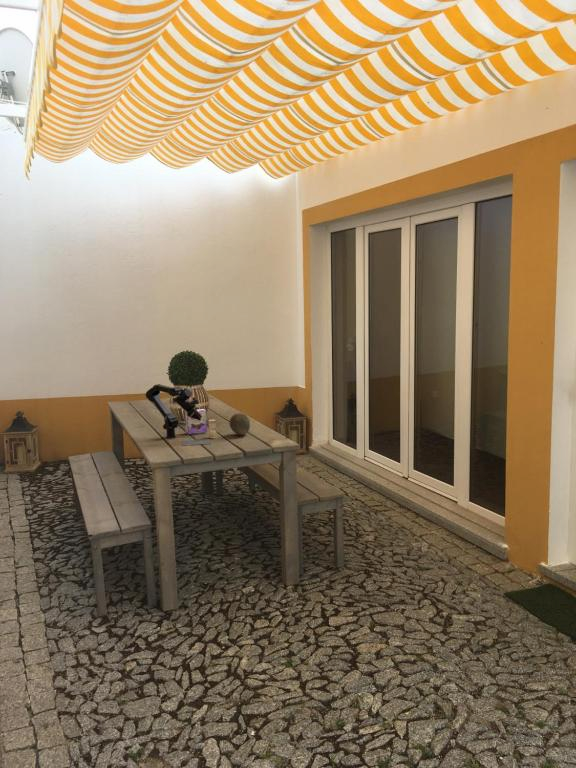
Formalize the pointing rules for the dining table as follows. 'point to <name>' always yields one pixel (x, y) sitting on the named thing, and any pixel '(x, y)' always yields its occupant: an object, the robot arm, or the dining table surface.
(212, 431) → the birch block
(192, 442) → the rubber mat
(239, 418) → the cantaloupe
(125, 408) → the dining table surface
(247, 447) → the dining table surface
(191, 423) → the candy box
